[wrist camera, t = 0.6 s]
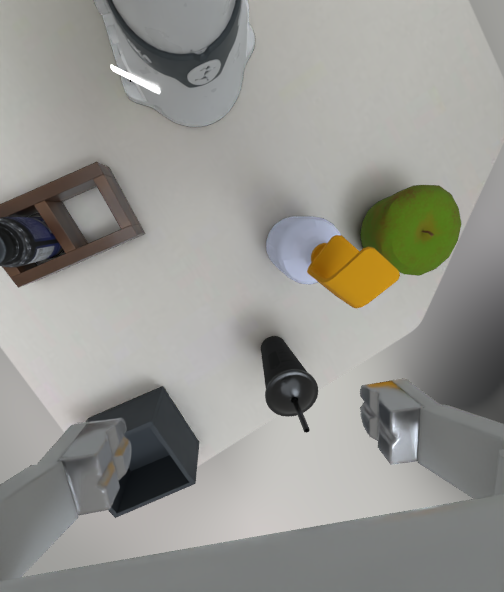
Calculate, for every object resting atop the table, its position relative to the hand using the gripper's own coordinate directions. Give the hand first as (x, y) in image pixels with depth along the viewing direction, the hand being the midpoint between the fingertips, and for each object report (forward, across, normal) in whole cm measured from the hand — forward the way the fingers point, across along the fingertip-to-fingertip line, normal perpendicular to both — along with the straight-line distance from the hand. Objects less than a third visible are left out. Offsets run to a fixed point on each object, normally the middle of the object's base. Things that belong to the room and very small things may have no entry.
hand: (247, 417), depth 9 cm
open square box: (+39, +21, +29) cm, 53 cm away
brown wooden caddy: (+35, +24, -11) cm, 43 cm away
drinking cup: (+38, -6, +14) cm, 41 cm away
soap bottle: (+36, -11, -5) cm, 38 cm away
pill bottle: (+35, +28, -9) cm, 45 cm away
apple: (+37, -27, -6) cm, 46 cm away
